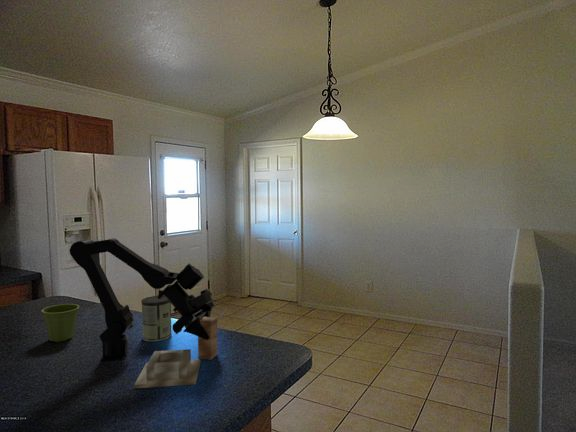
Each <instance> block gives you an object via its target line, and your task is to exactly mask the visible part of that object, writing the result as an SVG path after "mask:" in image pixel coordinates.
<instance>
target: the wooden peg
mask: <svg viewBox="0 0 576 432" xmlns="http://www.w3.org/2000/svg"><path fill="white" fill-rule="evenodd" d="M200 324H201V326H202V327H203V328H204V330H205V331H206V333H207V334H208V336H209V339H208V340H206V339H203V338H201V337H198V336H197V354H198V355H197V358H198V359H201V360H210V361H211V360H213V359H214V358H215V357H216V356H217V355H218V317H213V316H210V317H203V318H202V319H200Z"/></svg>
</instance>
